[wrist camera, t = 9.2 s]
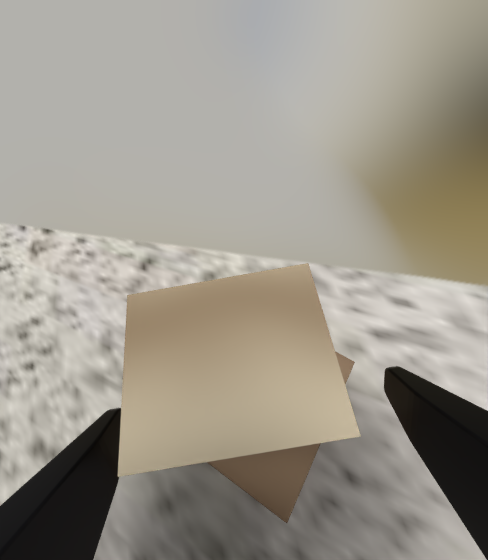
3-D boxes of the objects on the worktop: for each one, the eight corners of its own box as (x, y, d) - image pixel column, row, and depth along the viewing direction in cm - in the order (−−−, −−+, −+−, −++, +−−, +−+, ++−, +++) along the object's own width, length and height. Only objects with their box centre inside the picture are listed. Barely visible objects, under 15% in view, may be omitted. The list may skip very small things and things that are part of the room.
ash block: (302, 420, 17) (360, 436, 6) (216, 434, 17) (117, 477, 6) (286, 348, 19) (308, 263, 8) (209, 361, 19) (127, 295, 8)
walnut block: (283, 501, 18) (286, 523, 15) (168, 416, 21) (150, 418, 17) (341, 367, 21) (354, 361, 18) (235, 309, 24) (230, 295, 21)
